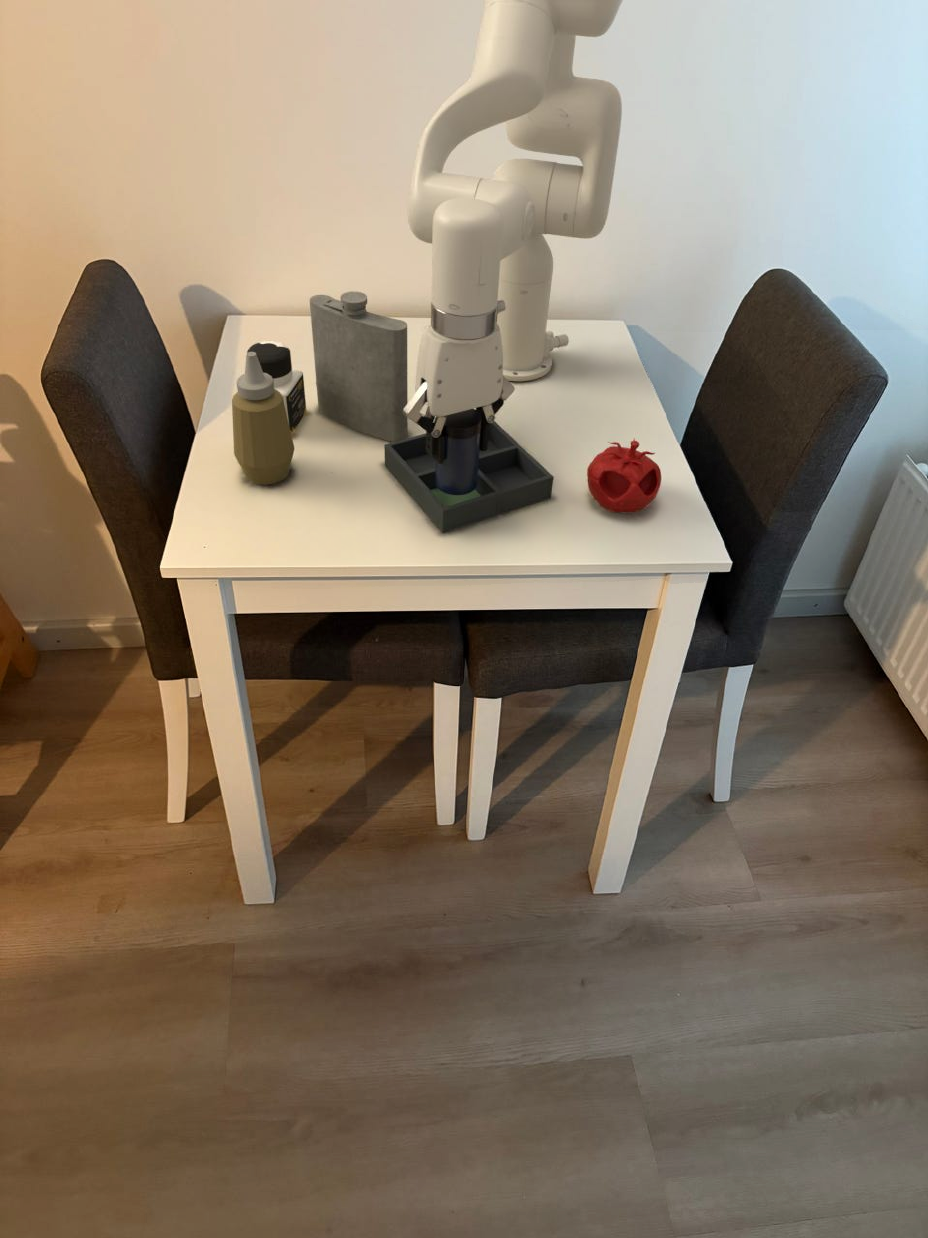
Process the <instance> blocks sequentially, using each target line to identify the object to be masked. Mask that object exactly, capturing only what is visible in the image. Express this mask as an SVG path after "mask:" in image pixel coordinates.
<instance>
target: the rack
mask: <svg viewBox="0 0 928 1238" xmlns="http://www.w3.org/2000/svg"><path fill="white" fill-rule="evenodd" d="M383 445H384V446H383V447H384V448H383V449H384V467H385V468H386V469H387V470H388V471H389V473H390V474H391V475H392V476H393V478H395V480H396V481H397V482H398V483H399V484H400V486H401V487H402V488H403V490H405V491H406V493H408V495H409V496H410V497H411V498H412V500H413V501H415V503H416V504H417V506H418V507H419V508H420V509H421V510H422V511H423V512H424V514H425V515H426V516H427V517H428V518H429V519H430V521H431V522H432V523H433V524H434V526H436V528H437V529H438V530H439V531H440V532H441V534H444V533H447V532H449V531H450V532H451V531H453V530H456V529H459V528H460V529H461V528H462V527H463V528H464V527H466V526H469V525H472V524H475V523H478V522H481V521H484V520H488V519H491V518H494V517H497V516H501V515H503V514H506V513H510V512H513V511H516V510H519V509H522V508H525V507H529V506H531V505H534V504H537V503H540V502H544V501H547V500H550V499H552V494H553V493H552V492H553V487H554V486H553V485H554V481H555V480H554V479H555V476H554V475H552V473H550V472H549V470H548V469H547V468H545V467H544V466H543V465H542V464H541V463H540V462H539V461H538V460H536V459H535V457H533V456H532V455H531V454H530V453H529V452H528V451H527V449H525V448H524V447H522V445H521V444H520V443H519V442H518V441H516V440H515V439H514V438H513V437H512V436H511V435H510V434H509V433H508V432H507V431H506V430H504V428H503V427H502V426H500V425H499V423H497V421H496V420H494V421H493V422H492V423H490V436H489V440H488V447H487V451H481V450H480V451H479V466H478V482H477V487H476V488H475V490H474V491H472V492H470V493H468V494H465V495H450V494H446V493H444V492H442V491H440V490H439V489H438V488H437V487H436V484H435V466H436V461H435V460H434V458H433V457H432V456H430V455H429V454H428V453H427V451H426V432H425V433H422V434H418V435H414V436H410V437H407V438H406V439H403V440H399V441H395V442H392V441H390V442H388V443H384V444H383Z"/></svg>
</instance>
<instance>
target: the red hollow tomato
mask: <svg viewBox="0 0 928 1238" xmlns="http://www.w3.org/2000/svg"><path fill="white" fill-rule="evenodd" d="M607 443H608V444H611V445H610V446H609V447H606V448H605V449H604V450H603V451H602V452H600V453H598V454H597V455H595V456H594V458H593V459H592V461H591V462H590V463H589V465H588V467H587V469H586V476H587V479H586V480H587V486H588V491H589V493H590V495H591V496H592V498H593V499H594V501H596V502H597V504H598V506H600V507H601V508H603V509H605V510H606V511H608V512H610V513H616V514H631V513H637V512H640V511H643V510H645V509H646V508H647V507H648V506H650V505H651V503H653V501H654V500H655V499H656V497H657V496H658V492H659V491H660V487H661V485H662V484H661V483H662V471H661V468H660V467H659V465H658V463H656V462H655V461H654V460H653V459H651V458H650V457H649V455H651V456H653V455H655V454H656V452H651V451H647V450H644V451H642V452H641V451H639V450H637V449H639V447H640V442H639V441H637V440H636V437H635V438H633V440H632V441H630V446H629V447H624V446H621V444H620V443H619V442H617V441H616V442H614V441H613V442H610V441H607ZM614 445H615V446H614ZM647 455H648V456H647Z"/></svg>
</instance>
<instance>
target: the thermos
mask: <svg viewBox="0 0 928 1238" xmlns="http://www.w3.org/2000/svg"><path fill="white" fill-rule="evenodd" d="M481 421H482V417H481V414H480V413H479V412H478V411H477V410H476V408H473V409H470V410H466V411H462V412H458V413H454V414H450V415H447V418H446V421H445V423H444V426H443V429H442V432H441V433H442V434H443V435H444V437H445V449H444V462H443V463H440V464H438V463H437V462H436V466H435V484H436V487H437V488H438V489H439V490H440V491H442V492H444V493H446V494H450V495H465V494H468V493H470V492H472V491H474V490H475V488H476V487H477V482H478V466H479V451H480V436H481Z"/></svg>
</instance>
